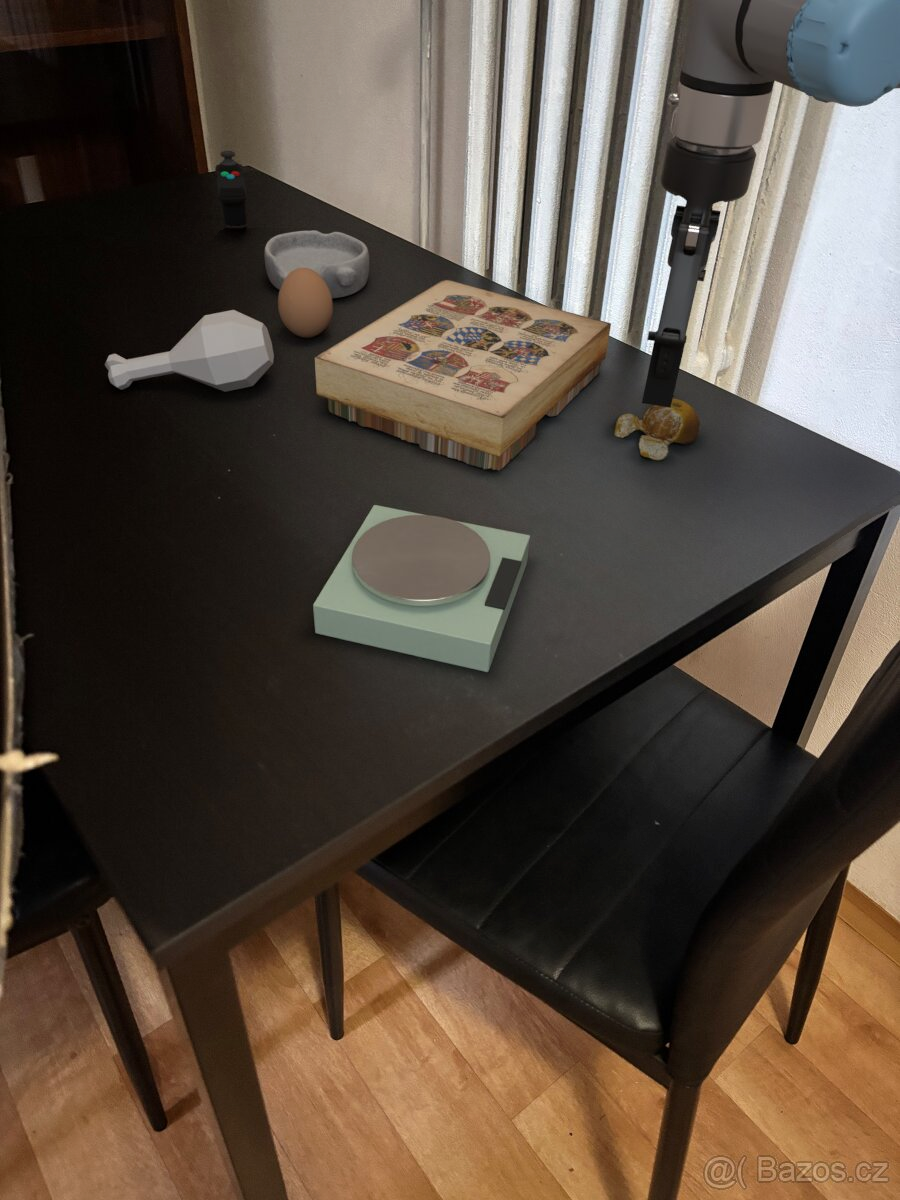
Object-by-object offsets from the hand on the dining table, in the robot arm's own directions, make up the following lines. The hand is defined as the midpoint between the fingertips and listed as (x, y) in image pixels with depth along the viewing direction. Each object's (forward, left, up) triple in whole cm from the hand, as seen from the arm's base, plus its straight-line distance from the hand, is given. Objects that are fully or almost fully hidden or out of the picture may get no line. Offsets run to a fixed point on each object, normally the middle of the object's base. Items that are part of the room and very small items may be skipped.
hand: (663, 372), depth 91 cm
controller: (+67, -40, -8) cm, 78 cm away
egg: (+43, -10, -8) cm, 45 cm away
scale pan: (+15, +32, -4) cm, 36 cm away
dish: (+48, -26, -8) cm, 55 cm away
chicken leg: (+50, +6, -8) cm, 51 cm away
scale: (+15, +32, -7) cm, 36 cm away
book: (+22, -4, -8) cm, 23 cm away
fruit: (0, 0, -8) cm, 8 cm away
